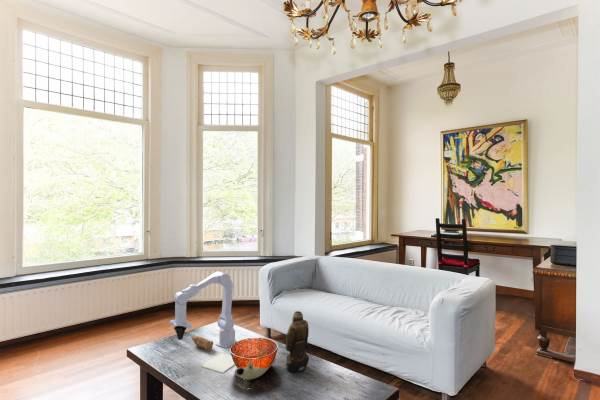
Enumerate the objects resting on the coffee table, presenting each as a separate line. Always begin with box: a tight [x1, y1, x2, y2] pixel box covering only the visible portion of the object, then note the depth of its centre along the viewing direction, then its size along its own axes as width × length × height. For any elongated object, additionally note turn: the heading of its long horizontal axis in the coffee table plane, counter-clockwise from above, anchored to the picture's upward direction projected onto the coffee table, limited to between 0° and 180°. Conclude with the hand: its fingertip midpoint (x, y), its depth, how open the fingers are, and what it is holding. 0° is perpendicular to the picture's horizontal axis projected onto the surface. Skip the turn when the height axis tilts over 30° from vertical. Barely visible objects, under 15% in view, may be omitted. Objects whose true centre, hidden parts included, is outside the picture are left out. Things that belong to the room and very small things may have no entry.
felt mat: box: [201, 352, 236, 374], centre depth 184 cm, size 16×14×1 cm
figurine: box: [191, 335, 214, 352], centre depth 201 cm, size 8×8×15 cm
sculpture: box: [285, 310, 310, 374], centre depth 180 cm, size 12×13×30 cm
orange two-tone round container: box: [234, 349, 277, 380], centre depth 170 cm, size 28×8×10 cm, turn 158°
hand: (180, 339), depth 189 cm, fingers closed
